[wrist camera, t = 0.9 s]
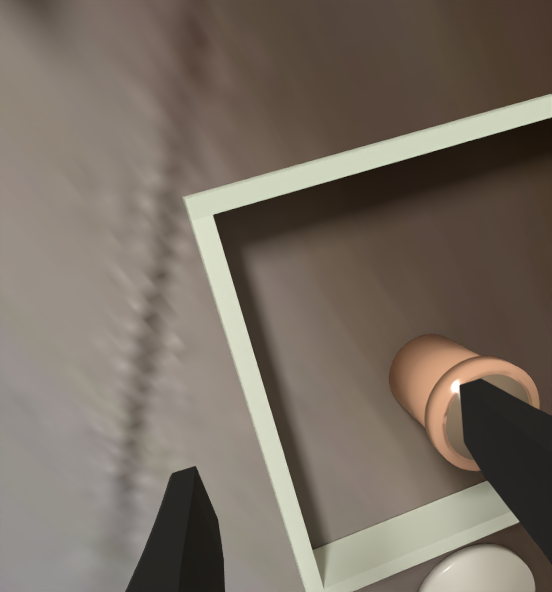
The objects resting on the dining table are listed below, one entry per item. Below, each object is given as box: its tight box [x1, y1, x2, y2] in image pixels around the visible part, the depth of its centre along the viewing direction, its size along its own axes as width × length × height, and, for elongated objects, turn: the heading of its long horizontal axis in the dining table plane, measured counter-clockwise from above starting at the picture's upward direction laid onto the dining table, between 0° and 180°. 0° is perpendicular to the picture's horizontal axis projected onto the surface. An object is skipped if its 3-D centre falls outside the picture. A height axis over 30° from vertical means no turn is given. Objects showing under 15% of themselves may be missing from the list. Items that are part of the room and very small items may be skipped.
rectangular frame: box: [182, 94, 552, 592], centre depth 28 cm, size 24×24×3 cm
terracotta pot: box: [389, 334, 539, 471], centre depth 27 cm, size 6×6×6 cm
